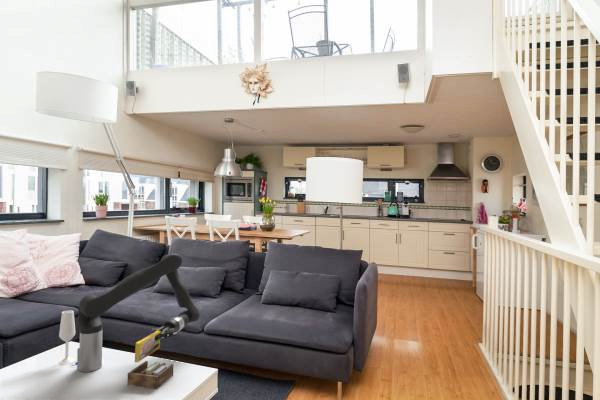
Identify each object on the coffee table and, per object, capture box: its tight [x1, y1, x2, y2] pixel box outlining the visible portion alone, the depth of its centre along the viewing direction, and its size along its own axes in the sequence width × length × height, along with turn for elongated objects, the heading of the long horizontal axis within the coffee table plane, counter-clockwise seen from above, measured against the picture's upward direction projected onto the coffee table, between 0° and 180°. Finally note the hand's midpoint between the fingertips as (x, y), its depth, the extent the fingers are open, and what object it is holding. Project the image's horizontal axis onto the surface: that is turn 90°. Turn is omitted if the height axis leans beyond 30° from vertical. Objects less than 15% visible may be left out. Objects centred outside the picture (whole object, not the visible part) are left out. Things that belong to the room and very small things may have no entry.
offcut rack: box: [126, 360, 174, 390], centre depth 159 cm, size 14×12×5 cm
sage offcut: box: [146, 361, 161, 375], centre depth 160 cm, size 2×8×6 cm, turn 168°
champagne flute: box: [58, 309, 76, 365], centre depth 176 cm, size 7×7×24 cm
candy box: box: [134, 331, 161, 363], centre depth 164 cm, size 16×2×8 cm, turn 168°
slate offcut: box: [153, 365, 168, 376], centre depth 158 cm, size 2×7×6 cm, turn 168°
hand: (153, 338), depth 167 cm, fingers closed on candy box, 2 cm apart
